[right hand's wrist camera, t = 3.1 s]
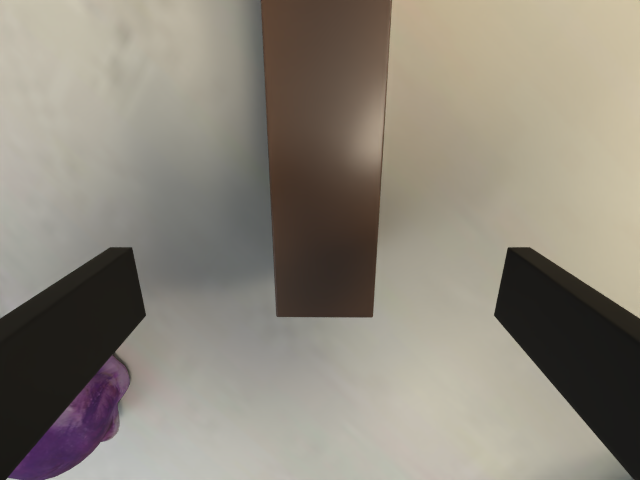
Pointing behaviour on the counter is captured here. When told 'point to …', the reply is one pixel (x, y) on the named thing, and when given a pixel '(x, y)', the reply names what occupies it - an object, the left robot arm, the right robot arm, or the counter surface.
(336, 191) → the walnut plank
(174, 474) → the counter surface
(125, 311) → the right robot arm
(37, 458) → the figurine
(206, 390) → the counter surface
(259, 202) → the counter surface
